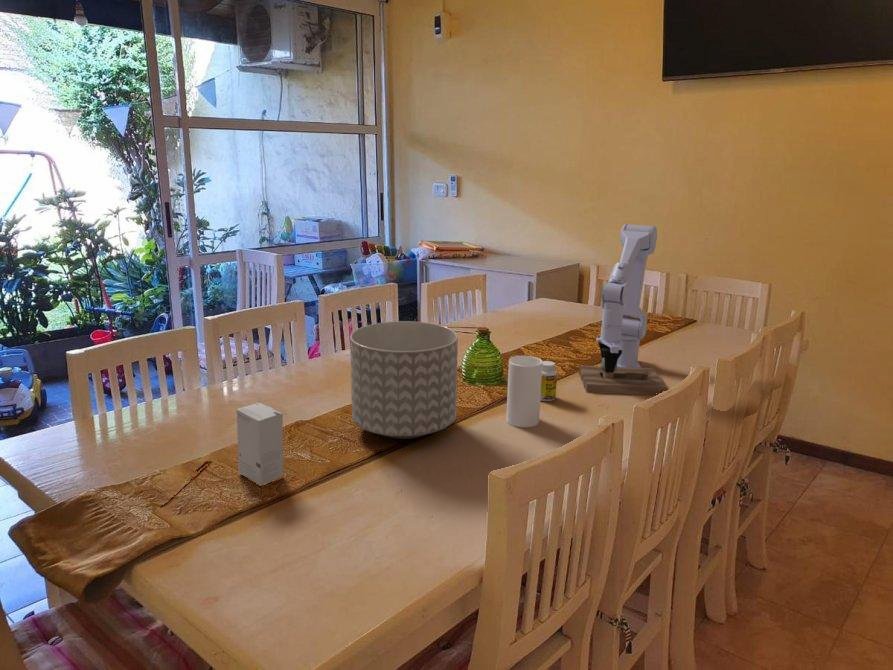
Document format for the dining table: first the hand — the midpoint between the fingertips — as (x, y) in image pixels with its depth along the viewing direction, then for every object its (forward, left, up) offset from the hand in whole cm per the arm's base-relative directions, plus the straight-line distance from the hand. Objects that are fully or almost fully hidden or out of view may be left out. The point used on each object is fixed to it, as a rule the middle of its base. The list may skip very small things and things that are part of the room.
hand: (607, 369), depth 193 cm
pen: (+68, -96, -5) cm, 117 cm away
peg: (0, 0, -4) cm, 4 cm away
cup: (+30, -26, -4) cm, 40 cm away
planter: (+38, -55, -4) cm, 67 cm away
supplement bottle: (+14, -19, -4) cm, 24 cm away
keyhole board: (0, +4, -4) cm, 6 cm away
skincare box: (+64, -81, -4) cm, 104 cm away
